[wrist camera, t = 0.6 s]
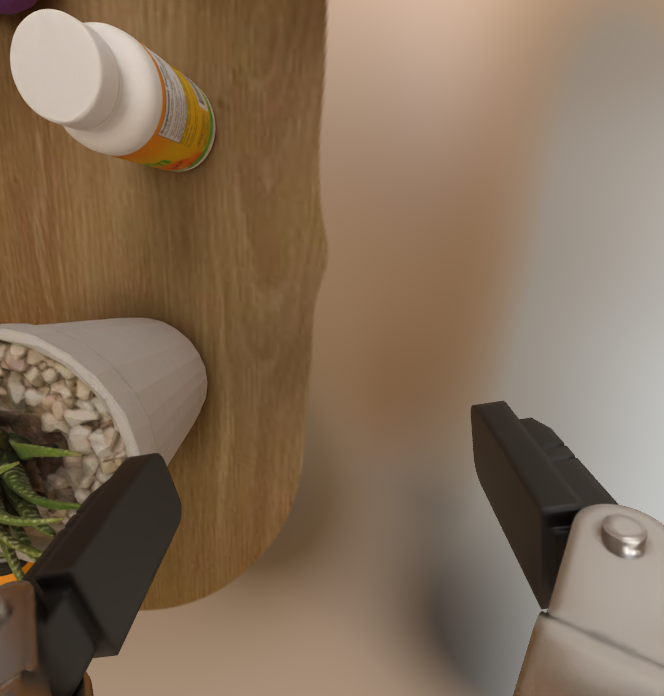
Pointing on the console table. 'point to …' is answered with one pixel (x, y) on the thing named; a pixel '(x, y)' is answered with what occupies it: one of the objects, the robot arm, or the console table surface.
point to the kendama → (15, 6)
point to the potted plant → (84, 415)
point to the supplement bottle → (111, 91)
